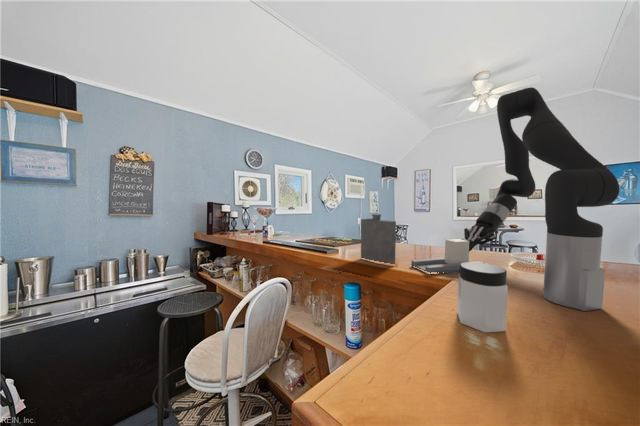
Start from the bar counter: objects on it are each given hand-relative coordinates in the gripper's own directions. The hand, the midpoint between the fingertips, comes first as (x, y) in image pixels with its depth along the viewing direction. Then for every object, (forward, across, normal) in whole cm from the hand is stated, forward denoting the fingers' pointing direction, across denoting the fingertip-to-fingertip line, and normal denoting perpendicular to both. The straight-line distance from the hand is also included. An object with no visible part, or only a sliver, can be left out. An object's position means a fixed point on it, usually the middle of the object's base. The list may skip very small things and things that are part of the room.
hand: (465, 250), depth 88 cm
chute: (+10, 0, -1) cm, 10 cm away
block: (+6, 0, +1) cm, 7 cm away
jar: (+26, +33, -16) cm, 45 cm away
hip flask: (+26, -14, -17) cm, 34 cm away
